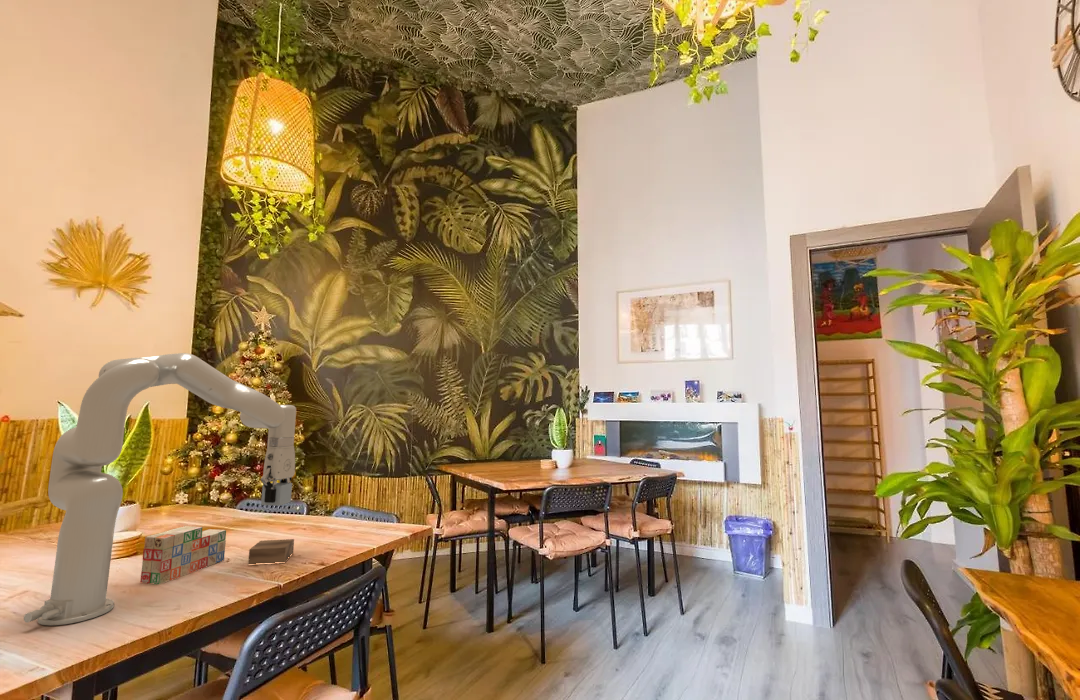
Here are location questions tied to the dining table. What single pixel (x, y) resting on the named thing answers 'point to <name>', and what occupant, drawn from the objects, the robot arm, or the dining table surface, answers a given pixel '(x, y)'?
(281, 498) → the grey cube
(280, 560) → the walnut block
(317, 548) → the dining table surface
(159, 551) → the stack of blocks
